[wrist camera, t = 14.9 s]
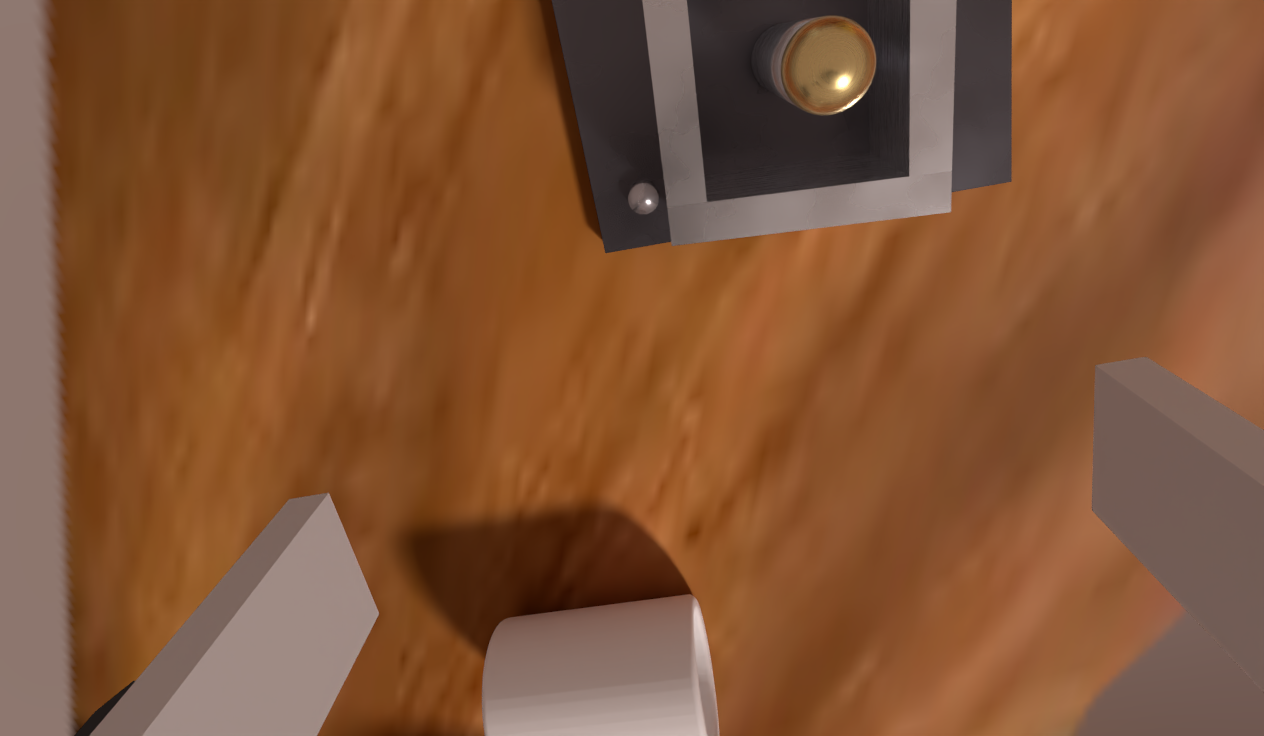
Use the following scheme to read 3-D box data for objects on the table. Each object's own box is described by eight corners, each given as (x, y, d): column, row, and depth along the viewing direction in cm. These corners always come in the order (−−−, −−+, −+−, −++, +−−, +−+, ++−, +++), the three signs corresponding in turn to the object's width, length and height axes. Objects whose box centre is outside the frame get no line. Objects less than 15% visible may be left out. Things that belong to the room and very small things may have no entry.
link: (673, 211, 30) (672, 245, 25) (643, -41, 27) (635, -60, 22) (904, 182, 29) (950, 212, 24) (904, -84, 26) (959, -114, 21)
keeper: (608, 245, 32) (572, 344, 22) (541, -72, 28) (455, -139, 17) (999, 176, 30) (1168, 248, 20) (997, -180, 25) (1217, -332, 15)
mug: (505, 585, 40) (465, 707, 33) (690, 560, 39) (692, 682, 31) (560, 746, 44) (537, 885, 37) (728, 729, 43) (737, 869, 36)
